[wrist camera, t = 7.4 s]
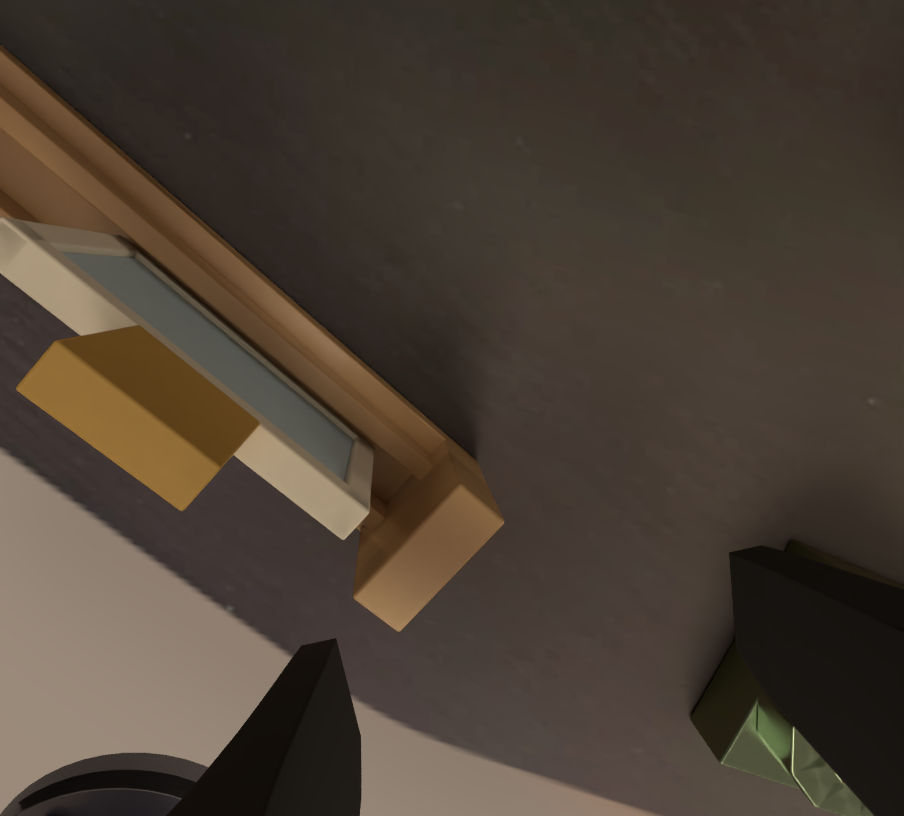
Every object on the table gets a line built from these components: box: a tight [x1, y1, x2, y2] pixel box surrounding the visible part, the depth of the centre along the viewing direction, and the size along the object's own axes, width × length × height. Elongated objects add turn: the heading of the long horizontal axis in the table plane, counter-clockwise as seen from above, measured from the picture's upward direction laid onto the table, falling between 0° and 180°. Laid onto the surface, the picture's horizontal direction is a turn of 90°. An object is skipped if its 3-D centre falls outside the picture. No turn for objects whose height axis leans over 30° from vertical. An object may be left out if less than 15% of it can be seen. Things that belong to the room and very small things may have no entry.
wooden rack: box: [0, 44, 504, 632], centre depth 15 cm, size 4×22×5 cm, turn 47°
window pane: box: [0, 217, 375, 540], centre depth 13 cm, size 1×9×8 cm, turn 48°
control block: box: [690, 540, 904, 816], centre depth 21 cm, size 10×8×4 cm
